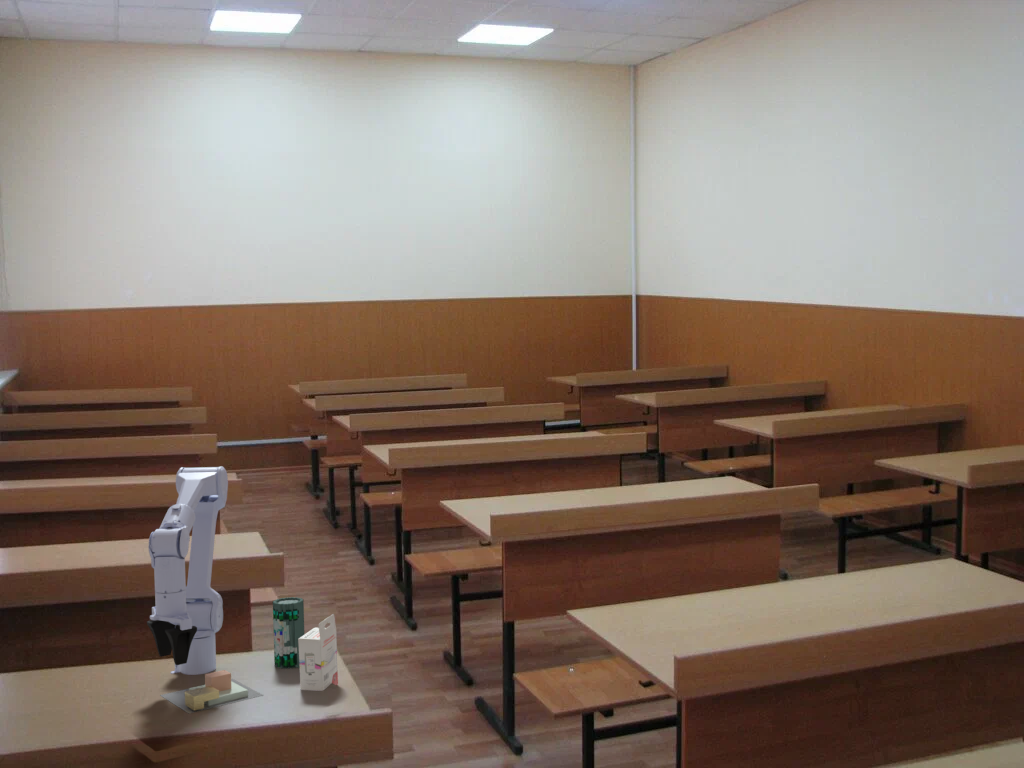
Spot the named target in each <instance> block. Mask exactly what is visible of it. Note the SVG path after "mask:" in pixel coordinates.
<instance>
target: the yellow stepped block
mask: <svg viewBox="0 0 1024 768" xmlns="http://www.w3.org/2000/svg"><path fill="white" fill-rule="evenodd" d="M217 698H219V690H217V689H215V688H213V687H212V686H206V687H202V688H198V689H193V690H189V691H185V705H186V706H187V707H189V708H191V709H192V710H198V709H202V708H204V702H205V701H209V700H213V699H217Z"/></svg>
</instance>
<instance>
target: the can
mask: <svg viewBox="0 0 1024 768" xmlns="http://www.w3.org/2000/svg"><path fill="white" fill-rule="evenodd" d="M304 602H305V601H304V599H303V598H301V597H297V596H296V597H290V596H289V597H281V598H275V599H274V600H273V601H272V618H273V619H272V623H273V625H272V627H273V651H274V652H273V656H274V657H273V658H274V666H275V668H279V669H287V670H288V669H293V668H295V669H296V668H298V669H300V666H299V644H298V639H299V638H300V637H302V636H303V635H305V634H306V633H305V608H304V607H305V604H304Z"/></svg>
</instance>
